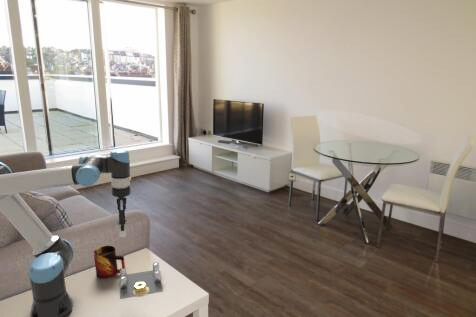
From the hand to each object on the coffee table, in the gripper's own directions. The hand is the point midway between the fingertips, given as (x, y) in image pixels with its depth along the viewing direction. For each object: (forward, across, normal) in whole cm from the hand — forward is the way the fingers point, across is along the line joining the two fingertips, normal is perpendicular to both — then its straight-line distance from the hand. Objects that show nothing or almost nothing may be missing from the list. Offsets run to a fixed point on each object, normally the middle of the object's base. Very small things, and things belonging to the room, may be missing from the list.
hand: (122, 236), depth 151 cm
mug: (+24, +11, +6) cm, 27 cm away
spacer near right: (+23, -3, -15) cm, 28 cm away
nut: (+23, -7, -7) cm, 25 cm away
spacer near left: (+24, -3, 0) cm, 24 cm away
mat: (+24, -2, -7) cm, 25 cm away
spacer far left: (+24, +4, 0) cm, 24 cm away
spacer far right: (+23, +4, -15) cm, 28 cm away
